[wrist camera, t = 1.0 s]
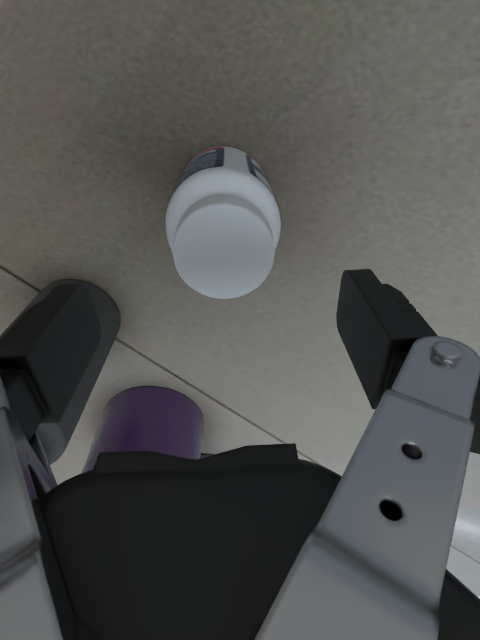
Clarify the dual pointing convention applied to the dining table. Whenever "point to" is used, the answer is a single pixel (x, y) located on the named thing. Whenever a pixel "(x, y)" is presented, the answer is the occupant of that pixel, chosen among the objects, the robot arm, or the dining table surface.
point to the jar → (149, 425)
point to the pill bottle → (223, 223)
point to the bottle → (60, 433)
